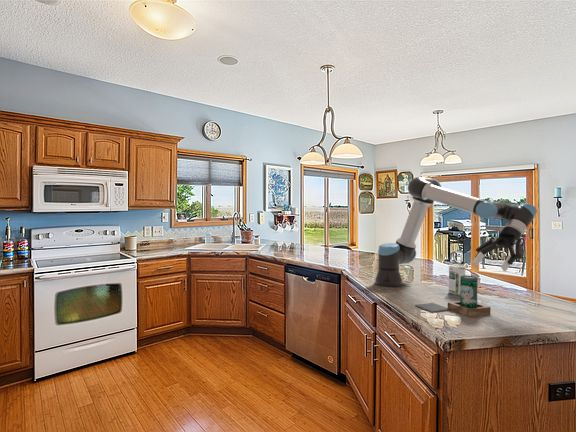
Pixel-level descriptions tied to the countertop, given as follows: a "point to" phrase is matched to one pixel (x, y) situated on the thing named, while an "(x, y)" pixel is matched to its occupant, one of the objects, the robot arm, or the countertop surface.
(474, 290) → the can
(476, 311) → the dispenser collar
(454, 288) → the syrup box
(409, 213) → the robot arm
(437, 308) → the mat
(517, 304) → the countertop surface
